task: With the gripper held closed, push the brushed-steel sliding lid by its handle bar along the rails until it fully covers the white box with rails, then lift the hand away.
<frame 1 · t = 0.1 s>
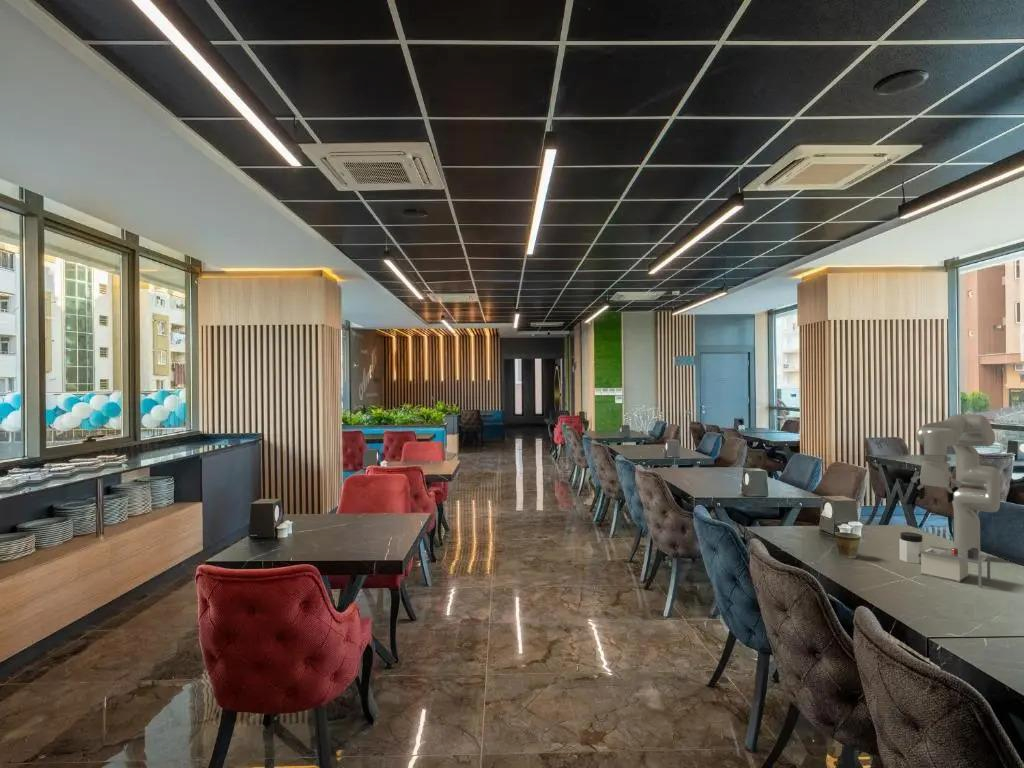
hand: (935, 500, 241), 31 cm above the table, fingers open, 9 cm apart
lid: (963, 552, 236), point 11 cm above the table, slide at 6.5 cm
white box with rails: (944, 575, 241), on the table
ceramic cup: (845, 556, 271), on the table
jar: (911, 561, 262), on the table
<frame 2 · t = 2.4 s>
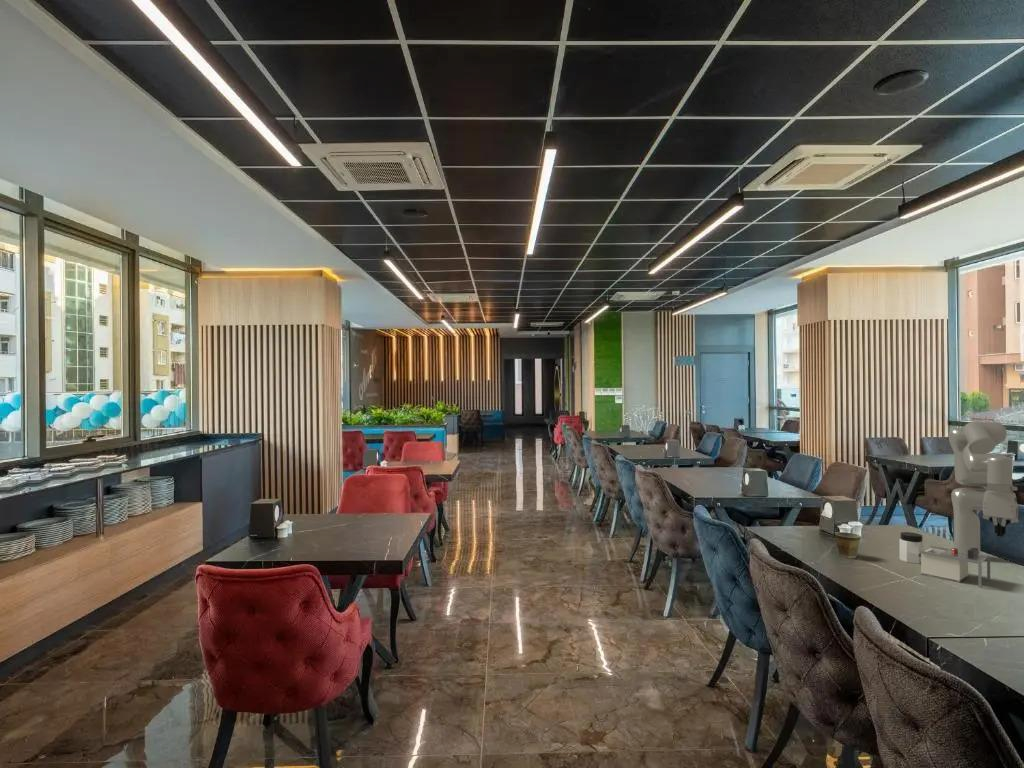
hand: (1000, 535, 227), 20 cm above the table, fingers closed
nothing on the table moved.
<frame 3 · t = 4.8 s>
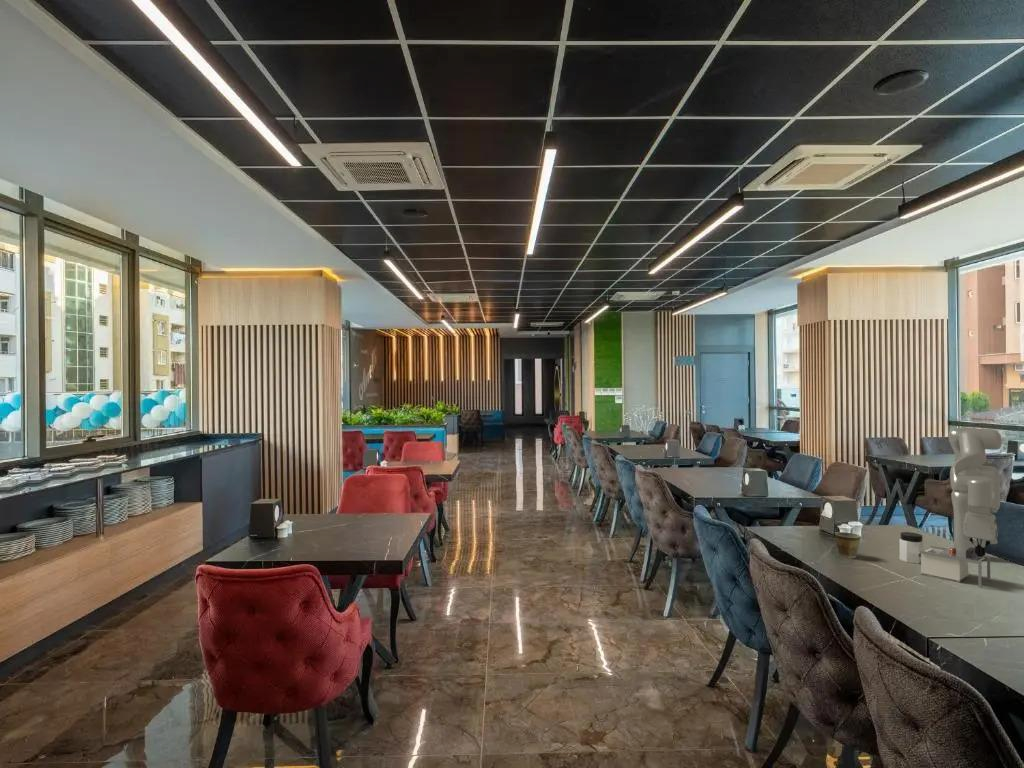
hand: (980, 556, 232), 11 cm above the table, fingers closed
lid: (962, 552, 237), point 11 cm above the table, slide at 5.9 cm, touching gripper
everything else where it was.
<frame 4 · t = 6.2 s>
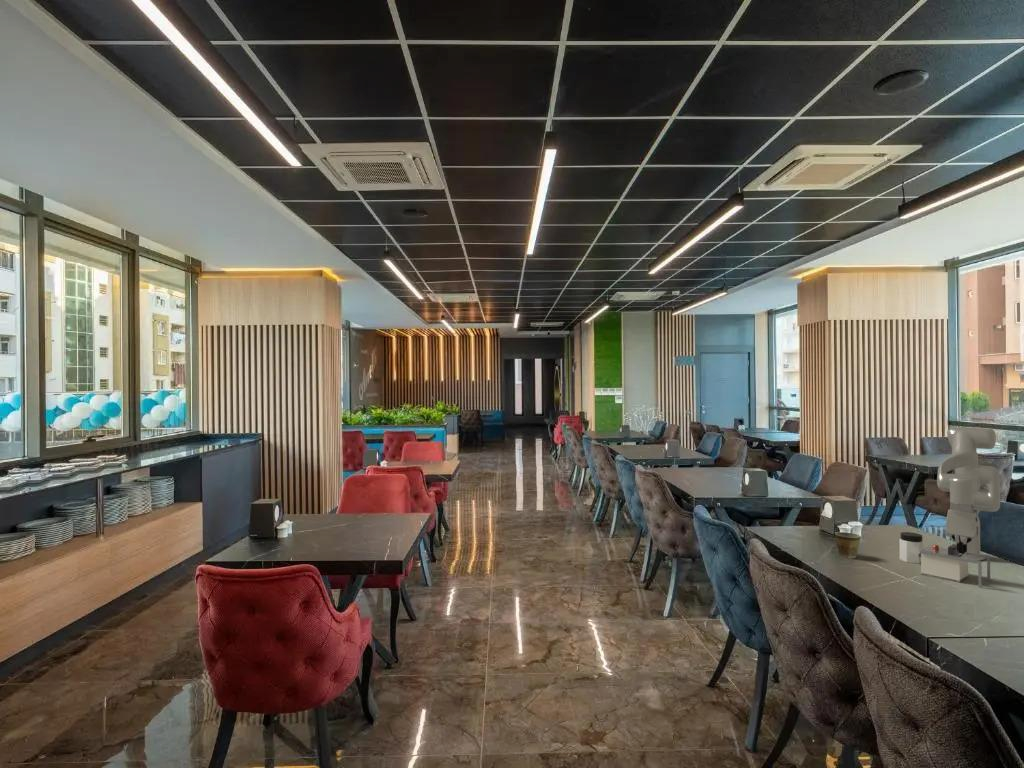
hand: (961, 552, 237), 11 cm above the table, fingers closed
lid: (944, 549, 241), point 11 cm above the table, slide at 0.0 cm, touching gripper
everything else where it was.
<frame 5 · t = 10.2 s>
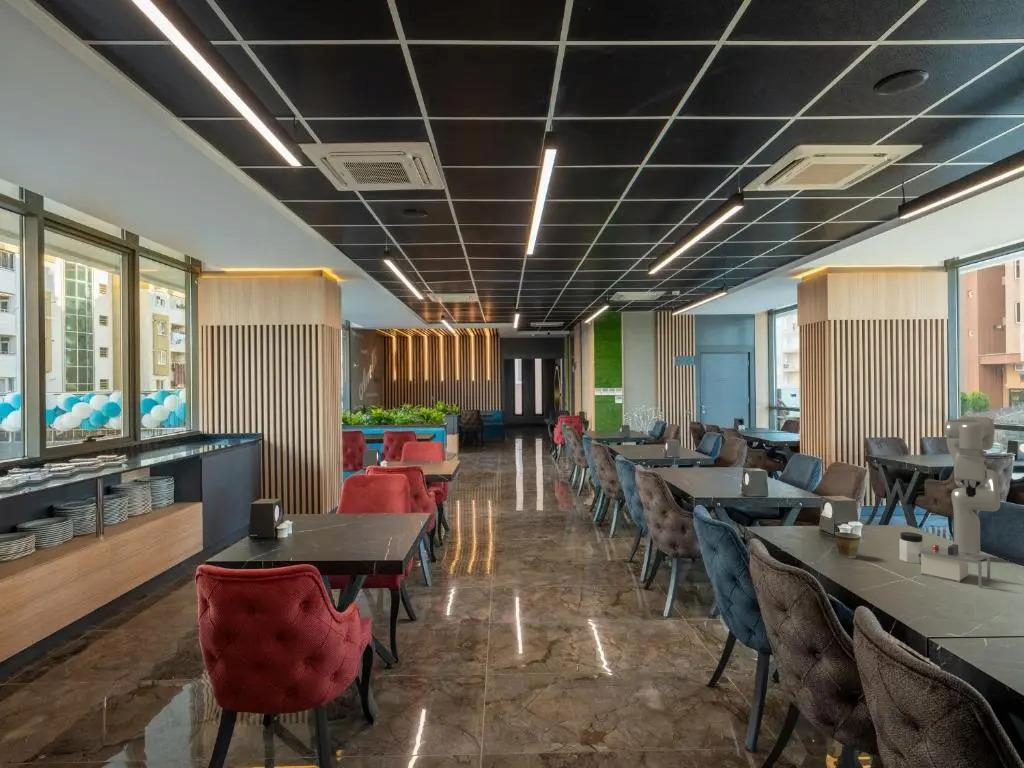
hand: (970, 496, 245), 32 cm above the table, fingers closed
lid: (944, 549, 241), point 11 cm above the table, slide at 0.0 cm
everything else where it was.
at the end: lid slide at 0.0 cm; lid touching nothing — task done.
